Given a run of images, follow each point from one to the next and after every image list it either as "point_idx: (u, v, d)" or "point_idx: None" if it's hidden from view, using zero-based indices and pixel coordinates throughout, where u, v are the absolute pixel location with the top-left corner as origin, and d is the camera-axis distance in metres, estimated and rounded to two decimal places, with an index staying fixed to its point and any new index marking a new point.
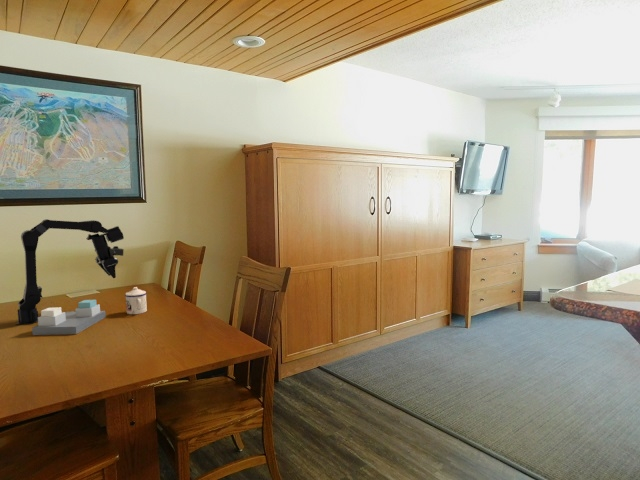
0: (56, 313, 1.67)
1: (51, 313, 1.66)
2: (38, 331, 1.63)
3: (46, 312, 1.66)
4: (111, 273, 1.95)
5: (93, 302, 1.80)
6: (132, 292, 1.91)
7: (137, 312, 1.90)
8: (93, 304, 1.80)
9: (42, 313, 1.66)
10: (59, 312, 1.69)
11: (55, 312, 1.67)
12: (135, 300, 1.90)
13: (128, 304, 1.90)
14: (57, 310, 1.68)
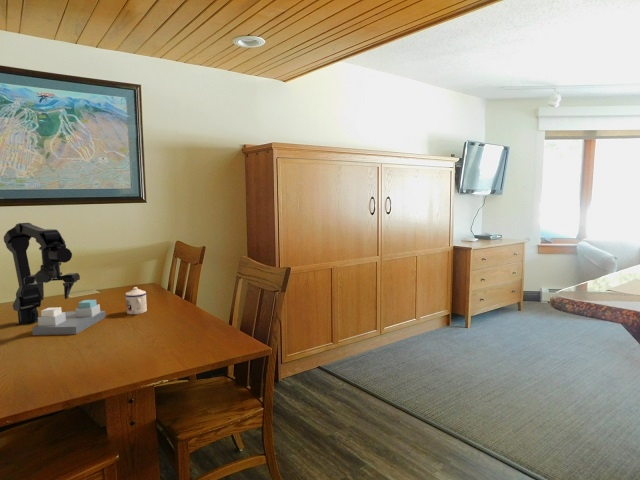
0: (56, 313, 1.67)
1: (51, 313, 1.66)
2: (38, 331, 1.63)
3: (46, 312, 1.66)
4: None
5: (93, 302, 1.80)
6: (132, 292, 1.91)
7: (137, 312, 1.90)
8: (93, 304, 1.80)
9: (42, 313, 1.66)
10: (59, 312, 1.69)
11: (55, 312, 1.67)
12: (135, 300, 1.90)
13: (128, 304, 1.90)
14: (57, 310, 1.68)
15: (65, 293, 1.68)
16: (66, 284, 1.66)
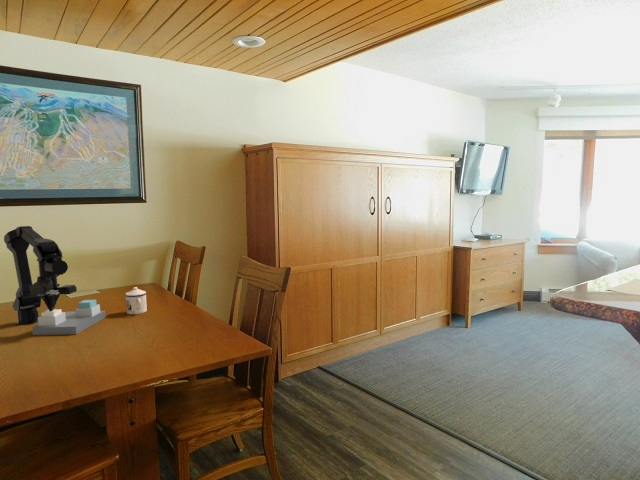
0: (56, 315, 1.67)
1: (51, 315, 1.66)
2: (38, 331, 1.63)
3: (46, 314, 1.66)
4: None
5: (93, 302, 1.80)
6: (132, 292, 1.91)
7: (137, 312, 1.90)
8: (93, 304, 1.80)
9: (42, 315, 1.66)
10: None
11: (55, 313, 1.67)
12: (135, 300, 1.90)
13: (128, 304, 1.90)
14: (57, 312, 1.68)
15: (50, 305, 1.67)
16: (51, 296, 1.65)
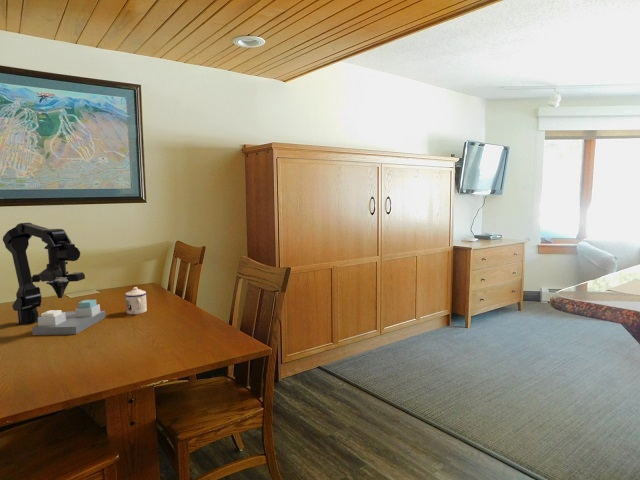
0: None
1: (51, 316, 1.66)
2: (38, 331, 1.63)
3: (46, 315, 1.66)
4: None
5: (93, 302, 1.80)
6: (132, 292, 1.91)
7: (137, 312, 1.90)
8: (93, 304, 1.80)
9: (42, 316, 1.66)
10: None
11: (55, 314, 1.67)
12: (135, 300, 1.90)
13: (128, 304, 1.90)
14: (57, 313, 1.68)
15: (59, 292, 1.69)
16: (59, 283, 1.67)
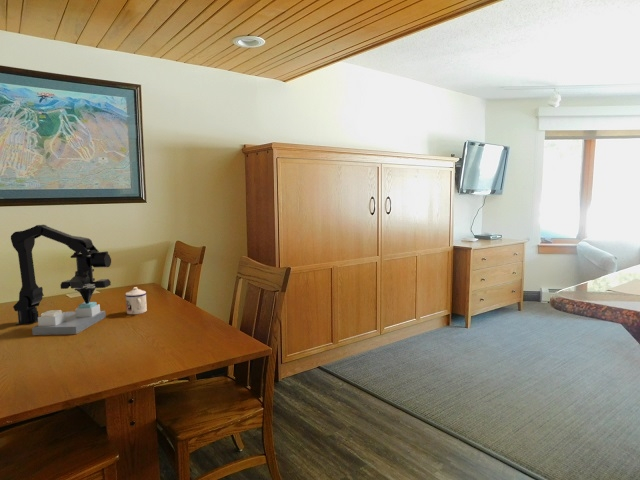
0: None
1: (51, 316, 1.66)
2: (38, 331, 1.63)
3: (46, 315, 1.66)
4: None
5: (93, 304, 1.80)
6: (132, 292, 1.91)
7: (137, 312, 1.90)
8: (93, 306, 1.80)
9: (42, 316, 1.66)
10: None
11: (55, 314, 1.67)
12: (135, 300, 1.90)
13: (128, 304, 1.90)
14: (57, 313, 1.68)
15: (87, 298, 1.79)
16: (87, 290, 1.77)
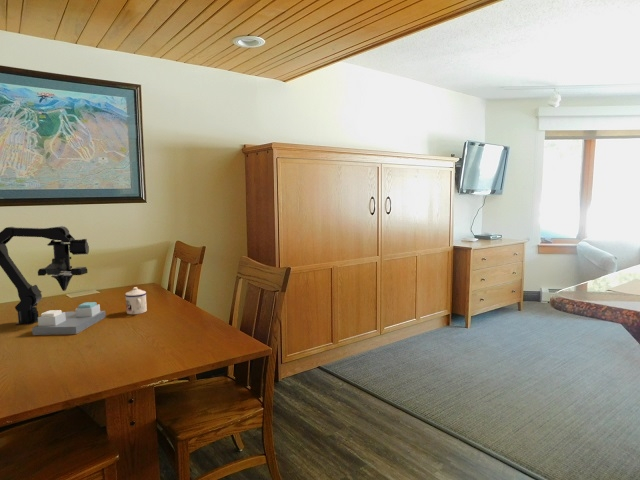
0: None
1: (51, 316, 1.66)
2: (38, 331, 1.63)
3: (46, 315, 1.66)
4: None
5: (93, 305, 1.80)
6: (132, 292, 1.91)
7: (137, 312, 1.90)
8: None
9: (42, 316, 1.66)
10: None
11: (55, 314, 1.67)
12: (135, 300, 1.90)
13: (128, 304, 1.90)
14: (57, 313, 1.68)
15: (63, 285, 1.82)
16: (64, 277, 1.80)
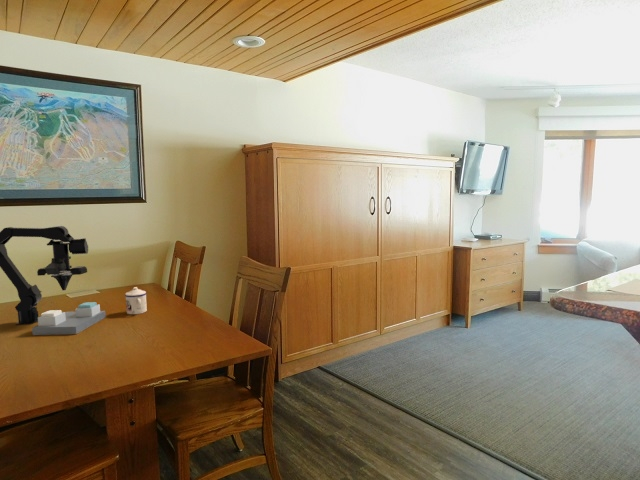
0: None
1: (51, 316, 1.66)
2: (38, 331, 1.63)
3: (46, 315, 1.66)
4: None
5: (93, 305, 1.80)
6: (132, 292, 1.91)
7: (137, 312, 1.90)
8: None
9: (42, 316, 1.66)
10: None
11: (55, 314, 1.67)
12: (135, 300, 1.90)
13: (128, 304, 1.90)
14: (57, 313, 1.68)
15: (63, 285, 1.82)
16: (64, 276, 1.80)
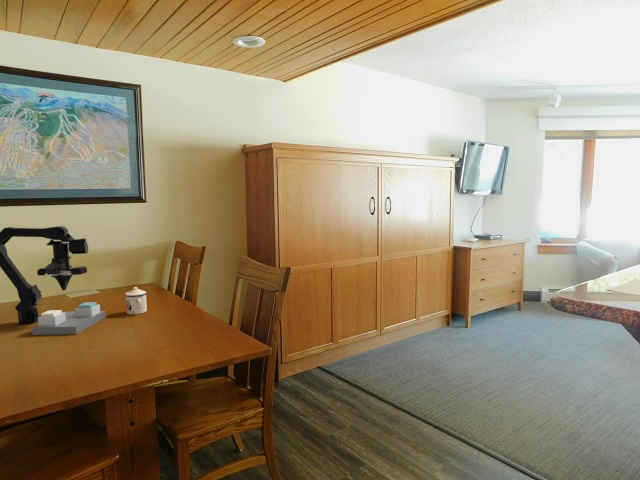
0: None
1: (51, 316, 1.66)
2: (38, 331, 1.63)
3: (46, 315, 1.66)
4: None
5: (93, 305, 1.80)
6: (132, 292, 1.91)
7: (137, 312, 1.90)
8: None
9: (42, 316, 1.66)
10: None
11: (55, 314, 1.67)
12: (135, 300, 1.90)
13: (128, 304, 1.90)
14: (57, 313, 1.68)
15: (63, 285, 1.82)
16: (64, 276, 1.80)
